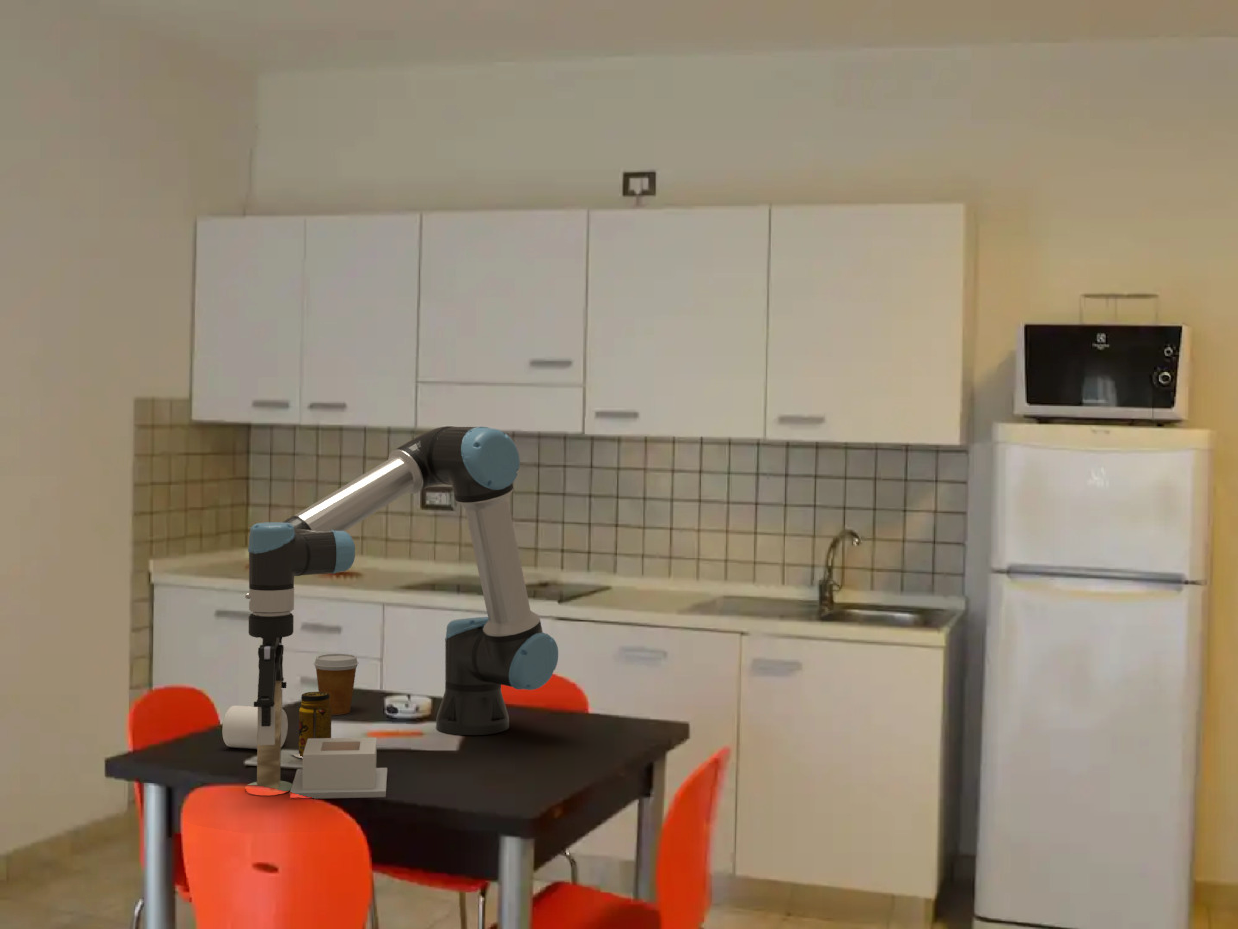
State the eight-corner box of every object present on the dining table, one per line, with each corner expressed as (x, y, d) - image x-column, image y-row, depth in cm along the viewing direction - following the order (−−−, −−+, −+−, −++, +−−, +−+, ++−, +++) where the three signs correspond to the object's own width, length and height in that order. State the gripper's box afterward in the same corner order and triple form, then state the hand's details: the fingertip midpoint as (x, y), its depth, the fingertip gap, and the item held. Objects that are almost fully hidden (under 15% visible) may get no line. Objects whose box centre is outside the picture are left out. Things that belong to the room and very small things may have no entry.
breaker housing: (387, 773, 256) (387, 735, 256) (385, 797, 240) (386, 756, 240) (297, 774, 254) (297, 736, 253) (289, 799, 238) (290, 757, 238)
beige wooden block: (280, 783, 245) (281, 680, 245) (278, 789, 242) (279, 684, 241) (259, 783, 245) (260, 681, 244) (256, 789, 241) (258, 685, 240)
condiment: (289, 755, 268) (290, 693, 267) (328, 749, 274) (329, 687, 273) (309, 763, 262) (310, 699, 262) (348, 756, 268) (349, 693, 268)
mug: (269, 755, 268) (270, 713, 268) (221, 751, 270) (222, 709, 270) (296, 740, 280) (297, 701, 280) (250, 737, 282) (250, 697, 282)
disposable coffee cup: (364, 709, 310) (365, 655, 310) (346, 718, 301) (347, 662, 300) (324, 706, 312) (325, 652, 312) (305, 715, 303) (306, 659, 303)
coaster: (294, 783, 248) (294, 780, 248) (290, 795, 240) (290, 792, 240) (247, 784, 247) (247, 780, 247) (242, 796, 239) (242, 793, 239)
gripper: (256, 602, 254) (255, 719, 255) (240, 624, 229) (239, 753, 230) (299, 602, 255) (298, 718, 256) (287, 623, 230) (286, 752, 231)
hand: (270, 735), depth 243 cm, fingers open, 13 cm apart
